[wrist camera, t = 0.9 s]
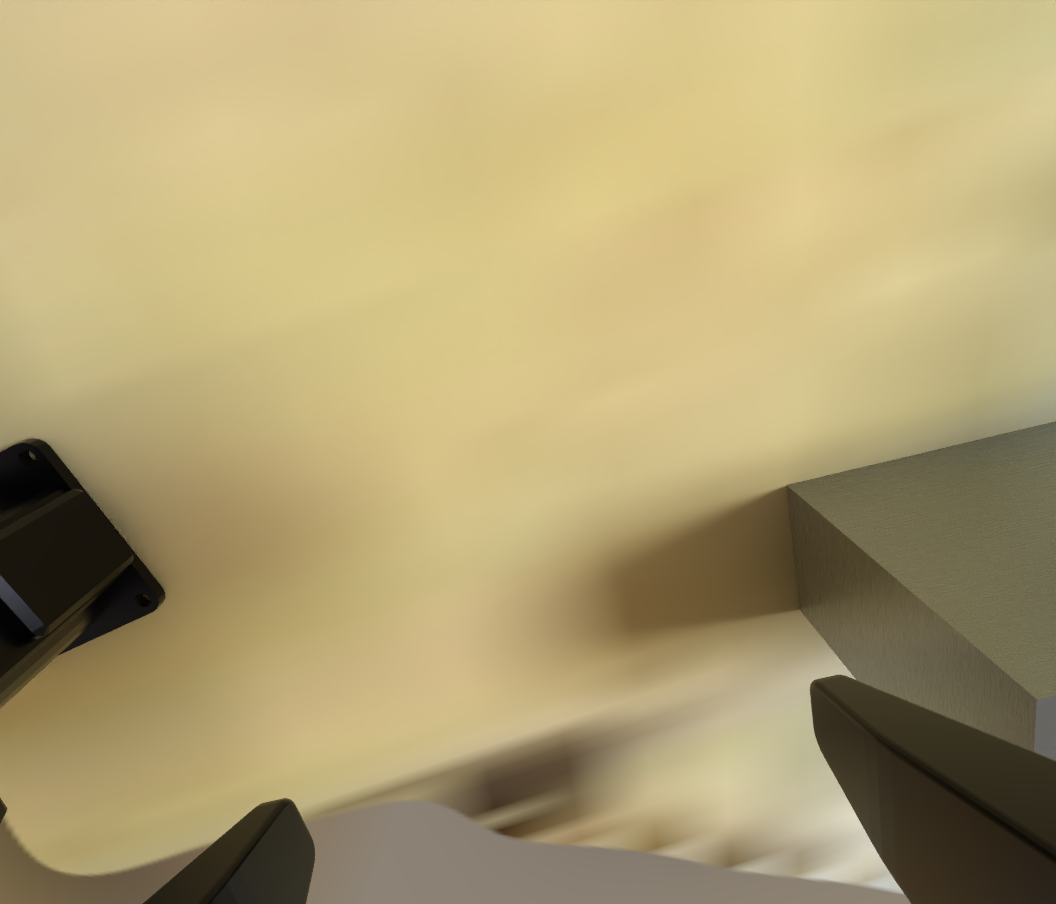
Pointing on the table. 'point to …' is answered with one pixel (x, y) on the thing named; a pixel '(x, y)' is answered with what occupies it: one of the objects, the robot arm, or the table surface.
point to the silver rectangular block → (942, 579)
